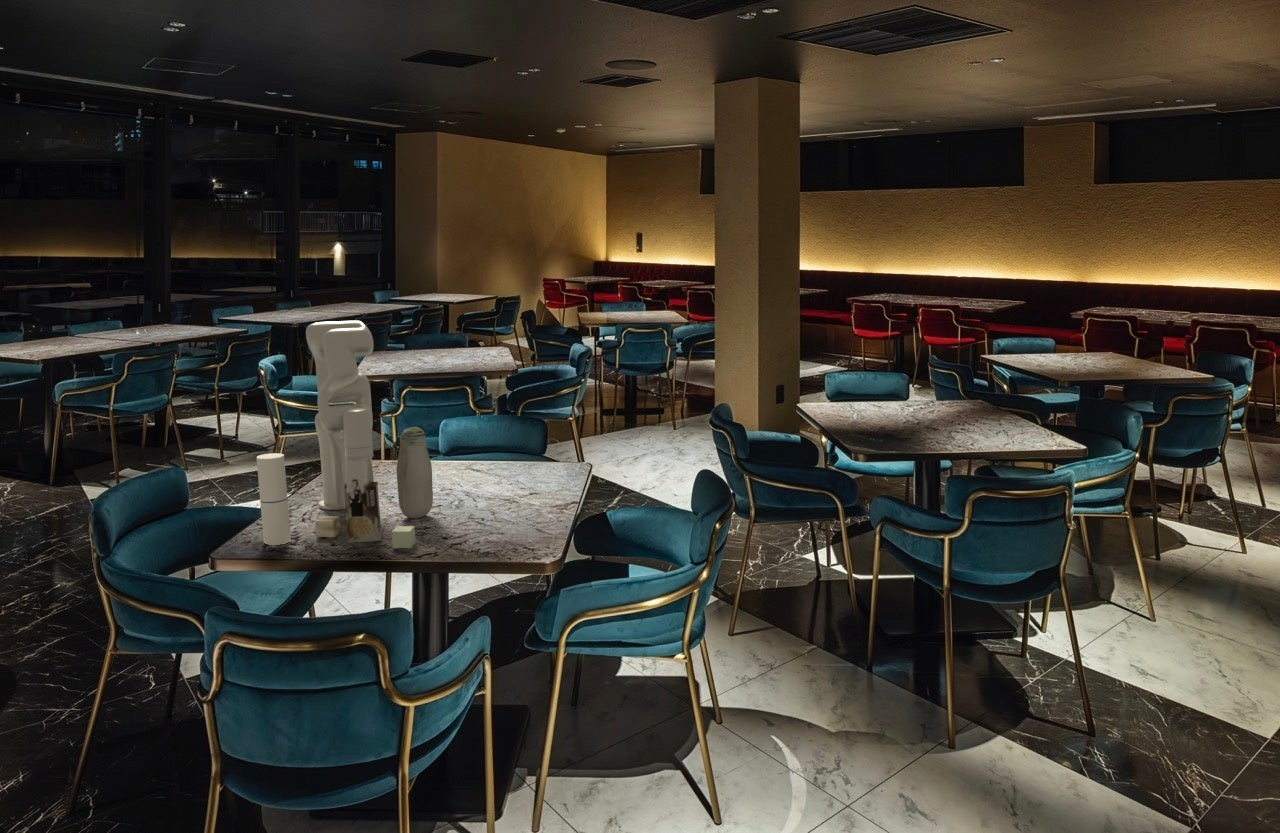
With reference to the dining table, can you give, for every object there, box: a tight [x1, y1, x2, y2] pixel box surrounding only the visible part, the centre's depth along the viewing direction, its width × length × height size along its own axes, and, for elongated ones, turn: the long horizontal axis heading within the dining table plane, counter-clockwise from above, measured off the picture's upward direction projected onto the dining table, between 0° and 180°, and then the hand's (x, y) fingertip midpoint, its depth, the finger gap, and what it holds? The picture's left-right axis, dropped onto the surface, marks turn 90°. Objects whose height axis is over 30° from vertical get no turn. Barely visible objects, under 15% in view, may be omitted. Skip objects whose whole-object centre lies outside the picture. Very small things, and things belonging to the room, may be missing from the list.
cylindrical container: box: [256, 452, 292, 545], centre depth 263 cm, size 7×7×25 cm
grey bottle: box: [396, 426, 434, 520], centre depth 286 cm, size 10×10×28 cm
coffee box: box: [344, 481, 383, 544], centre depth 265 cm, size 9×6×16 cm
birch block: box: [315, 515, 341, 538], centre depth 271 cm, size 5×5×5 cm
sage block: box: [391, 525, 417, 549], centre depth 260 cm, size 5×5×5 cm
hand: (363, 511), depth 265 cm, fingers open, 9 cm apart
